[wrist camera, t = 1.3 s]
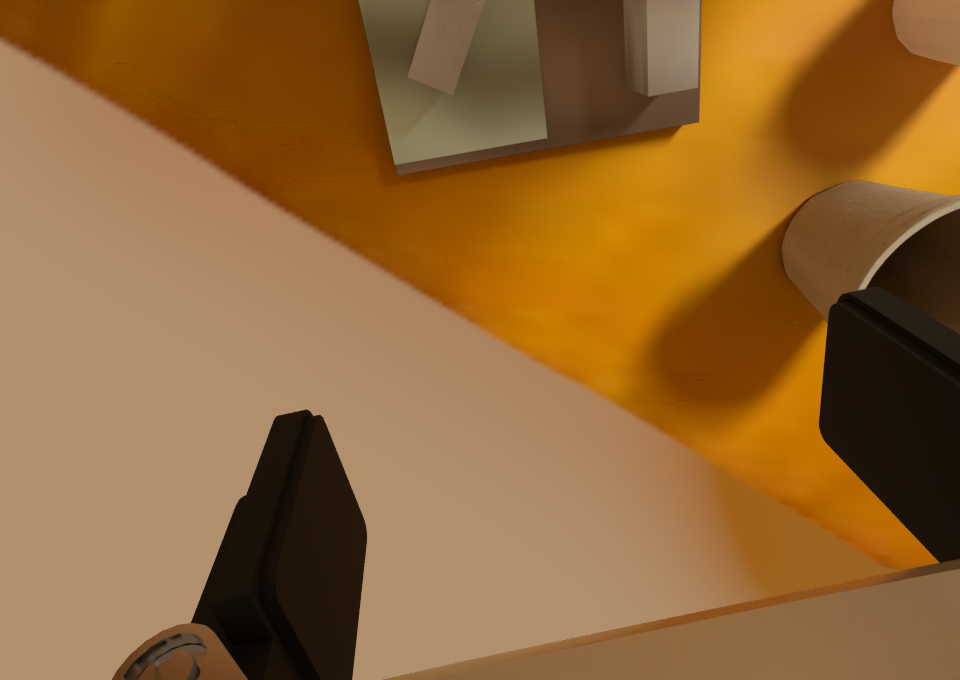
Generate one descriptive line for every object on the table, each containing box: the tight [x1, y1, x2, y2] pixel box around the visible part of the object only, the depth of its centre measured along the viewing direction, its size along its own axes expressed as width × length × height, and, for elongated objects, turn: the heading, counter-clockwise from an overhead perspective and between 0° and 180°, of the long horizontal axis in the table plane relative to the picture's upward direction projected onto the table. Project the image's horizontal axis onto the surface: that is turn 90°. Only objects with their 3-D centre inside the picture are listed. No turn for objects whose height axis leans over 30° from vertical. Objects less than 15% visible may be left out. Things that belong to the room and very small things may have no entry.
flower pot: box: [781, 181, 960, 334], centre depth 28 cm, size 9×9×9 cm
